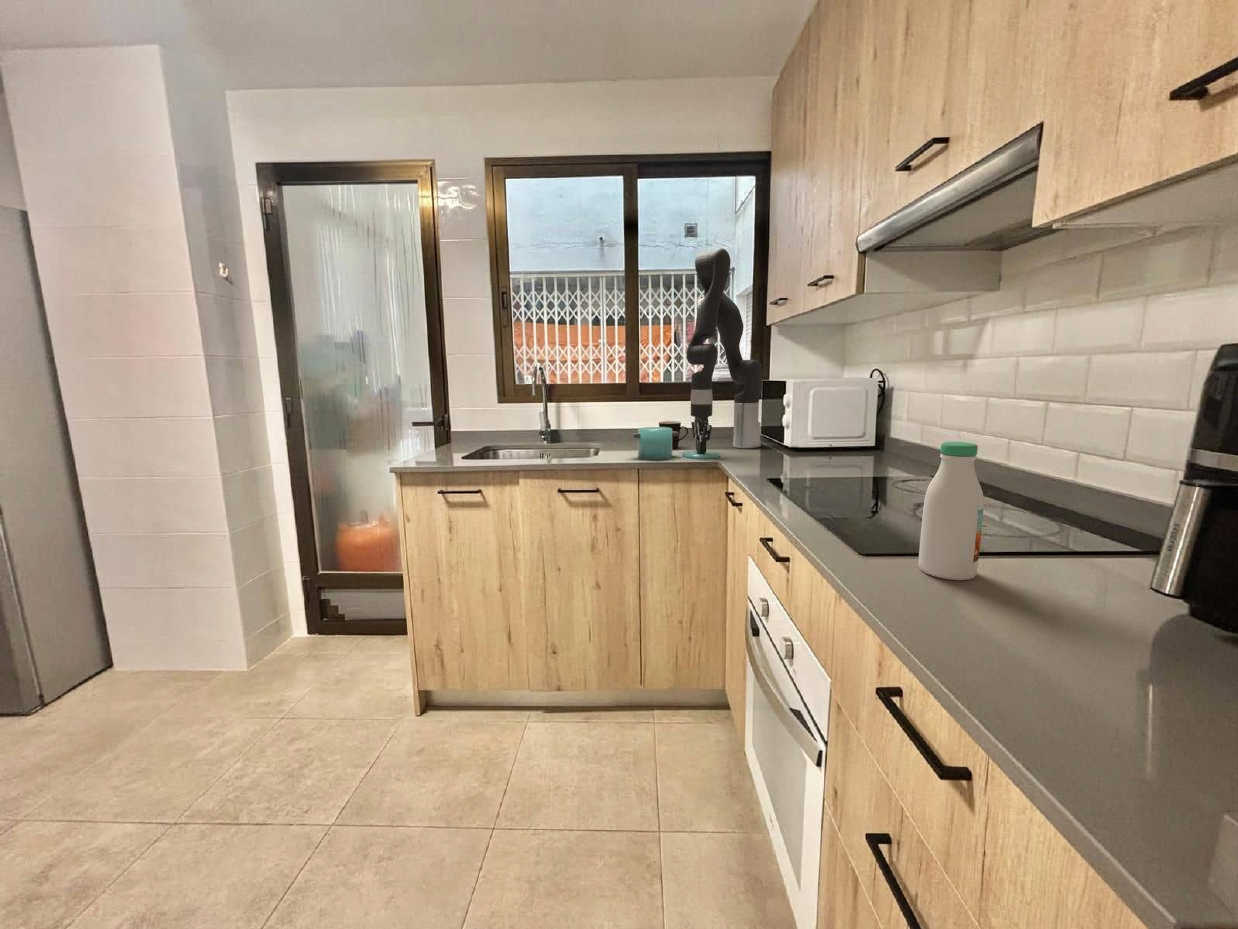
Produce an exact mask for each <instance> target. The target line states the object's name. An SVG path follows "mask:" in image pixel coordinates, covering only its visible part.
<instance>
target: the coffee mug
mask: <svg viewBox="0 0 1238 929" xmlns="http://www.w3.org/2000/svg"><path fill="white" fill-rule="evenodd" d="M681 424H682V422H681V421H677V420H676V421H675V420H672V421H671V420H667V421H666V420H665V421H658V427H668V428H672V431H676V432H679V436H672V450H675V449H676V450H678V449H679V442H680V441H682V440H683V439H684V438H686V437H687V436H688V434H689V429H688V428H687V426H684V425H682V426H681ZM681 429H685V430H686V433H685V435H684V436H682V437H681V438H680V432H681Z"/></svg>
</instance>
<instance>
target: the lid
mask: <svg viewBox="0 0 1238 929" xmlns="http://www.w3.org/2000/svg"><path fill="white" fill-rule="evenodd" d="M720 455H721V454H720V452H717V451H712V450H706V452H703V453H701V452H700V439H697V451H696V450H688V451H684V452H682V457H683V458H684V459H692V460H713V459H718V458H720Z"/></svg>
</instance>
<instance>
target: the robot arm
mask: <svg viewBox="0 0 1238 929" xmlns="http://www.w3.org/2000/svg"><path fill="white" fill-rule="evenodd" d="M731 262H732V261H731V257H730V253H729V252H728V251H727V249H725V248H722V247H720V248H716V249H715V248H714V249H710V250H708V251H703V252H699V254H697V255H696V257H695V259H694V267H695V271H696V276H697V278H698V280H699V282H700V285H701V287H702V289H703V291H704V294H705V297H704V298H703V300H702V301H701V303H700V306H698V307H699V308H698V309H697V313H696V319H695V325H694V326H695V327H694V332H693V334H692V336H691V339H690V342H689V344H688V346H687V349H686V361H688V363H689V364H690V365H693V366H701V365H702V366H703V367H702V369H701V370H700V371H697V372H696V371H695V372H694V373H692V375H691V392H690V416H691V417H694V421H691V422H690V423H691V429H692V437H693V439H694V440H695V451H697V439H700V452H701V453H703V452H706V451H707V443H708V441H710V438H711V433H712V430H713V429H712V428H713V426H712V424H709V417H712V416H713V400H714V399H713V376H714V371H715V367H716V364H717V361H718V357H719V355H718V353H719V352H718V349H717V348H718V347H717V346H716V345H715V344H714V343H704V342H705V341H707V340H709V339H712V338H714V337H715V335H716V331H718V333H719V337H720V340H721V343H722V345H723V346H722V347H723V349H724V353H725V357H726V358H725V359H726V362H727V367H728V371H729V375H730V378H731V380H732V382H734V383H735V384H736V385H744V388H743V390H742V391H741V392H739V393H737V394H735V395H734V400H733V401H734V402H733V404H734V405H733V440H732V442H733V444H732V446H733V448H738V449H756V448H760V447H761V446H760V444H761V422H760V421H759V414H760V413H759V412H760V411H759V408H760V396H761V393H762V384H763V383H762V382H763V366H762V364H761V362H760V360H756V359H743V355H742V353H741V350H740V349H741V348H740V345H741V340H742V336H743V333H744V322H743V318H742V315H741V312H740V309H739V307H738V305H737V304H736V303H735V302H734V300H732V299H731V297H729V296H728V295H727V294H726V293H725V292H724V291H725V289H726V284H727V281H728V277H729V275H730V269H731Z"/></svg>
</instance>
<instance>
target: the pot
mask: <svg viewBox="0 0 1238 929" xmlns="http://www.w3.org/2000/svg"><path fill="white" fill-rule="evenodd" d="M672 436H679V437H680V435H679V432H676V431H672V428H668V427H659V426H647V427H646V426H645V427H644V426H643V427H638V428H637V432H631V433H630V437H631V438H632V439H637V457H638V459H640V460H648V461H662V460H663V461H664V460H669V459H673V449H672Z"/></svg>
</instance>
